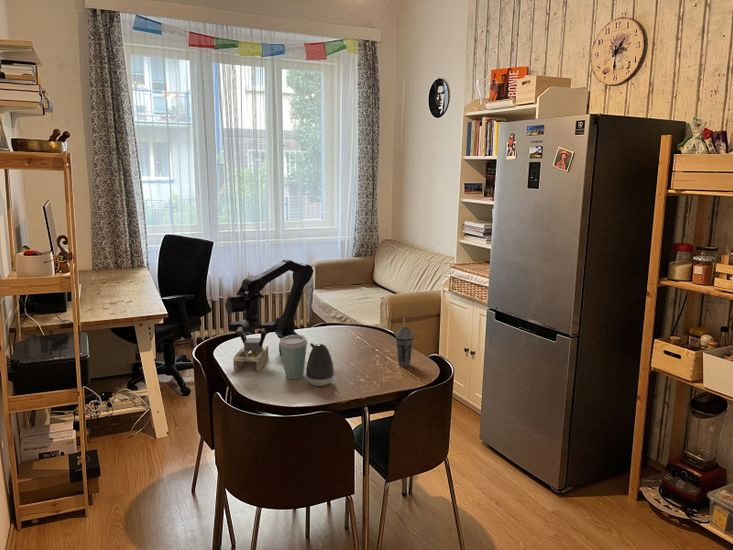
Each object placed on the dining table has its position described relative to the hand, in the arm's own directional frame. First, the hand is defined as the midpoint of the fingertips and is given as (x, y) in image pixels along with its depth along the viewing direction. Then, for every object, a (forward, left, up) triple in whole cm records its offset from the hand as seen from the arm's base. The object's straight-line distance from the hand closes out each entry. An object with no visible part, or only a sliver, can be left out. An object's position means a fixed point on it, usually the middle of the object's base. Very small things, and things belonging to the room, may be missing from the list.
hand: (253, 347), depth 233 cm
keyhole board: (0, +4, -6) cm, 7 cm away
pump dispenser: (-30, +22, -6) cm, 37 cm away
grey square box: (0, 0, -4) cm, 4 cm away
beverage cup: (-61, 0, -6) cm, 61 cm away
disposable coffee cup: (-19, +15, -6) cm, 25 cm away
